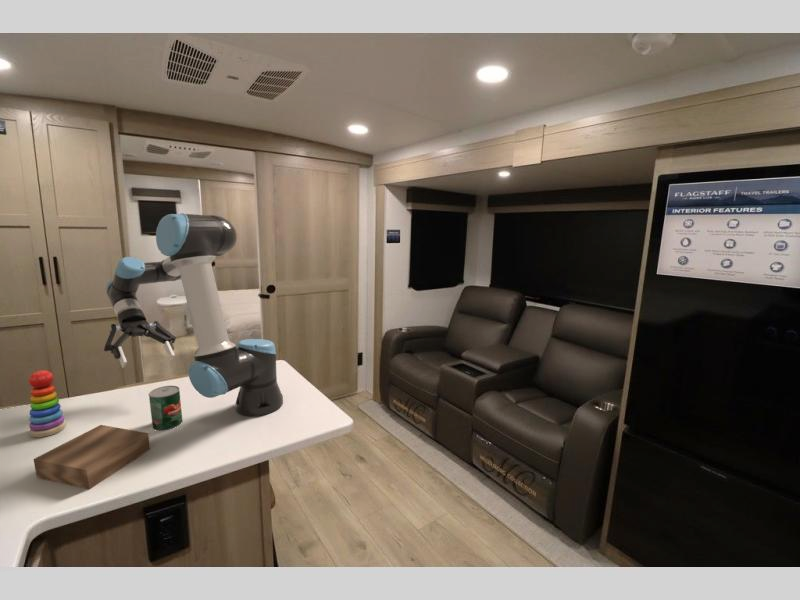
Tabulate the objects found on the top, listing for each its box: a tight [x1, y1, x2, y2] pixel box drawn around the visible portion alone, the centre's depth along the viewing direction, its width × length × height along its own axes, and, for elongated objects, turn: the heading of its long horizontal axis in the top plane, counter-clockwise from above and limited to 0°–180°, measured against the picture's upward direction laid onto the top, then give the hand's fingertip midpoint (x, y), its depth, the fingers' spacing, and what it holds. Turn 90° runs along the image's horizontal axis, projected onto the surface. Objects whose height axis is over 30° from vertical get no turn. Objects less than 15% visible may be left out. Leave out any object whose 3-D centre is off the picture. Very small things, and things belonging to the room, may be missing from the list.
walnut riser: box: [33, 424, 151, 490], centre depth 94 cm, size 16×16×5 cm
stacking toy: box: [28, 369, 67, 438], centre depth 106 cm, size 8×8×19 cm
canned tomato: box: [148, 385, 183, 432], centre depth 112 cm, size 8×8×11 cm
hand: (149, 361), depth 119 cm, fingers open, 13 cm apart
